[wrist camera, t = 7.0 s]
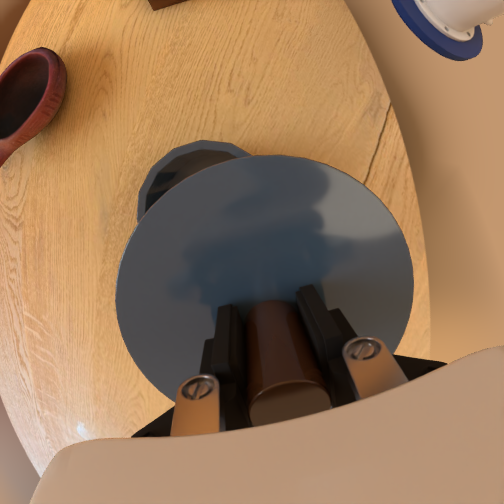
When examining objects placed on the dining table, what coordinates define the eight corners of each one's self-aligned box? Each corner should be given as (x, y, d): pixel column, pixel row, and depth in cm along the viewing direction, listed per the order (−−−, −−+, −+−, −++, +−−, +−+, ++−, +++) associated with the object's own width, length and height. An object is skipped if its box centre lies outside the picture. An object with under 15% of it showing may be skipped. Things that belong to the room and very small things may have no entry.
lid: (384, 132, 11) (483, 118, 5) (399, 374, 15) (447, 444, 9) (85, 206, 11) (-10, 240, 5) (183, 425, 15) (169, 508, 9)
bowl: (17, 74, 25) (-15, 65, 18) (83, 47, 26) (53, 27, 18) (12, 175, 30) (-24, 180, 22) (77, 159, 30) (40, 159, 23)
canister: (254, 136, 31) (259, 124, 23) (280, 241, 34) (293, 263, 26) (148, 167, 31) (121, 166, 23) (179, 267, 35) (162, 296, 27)
